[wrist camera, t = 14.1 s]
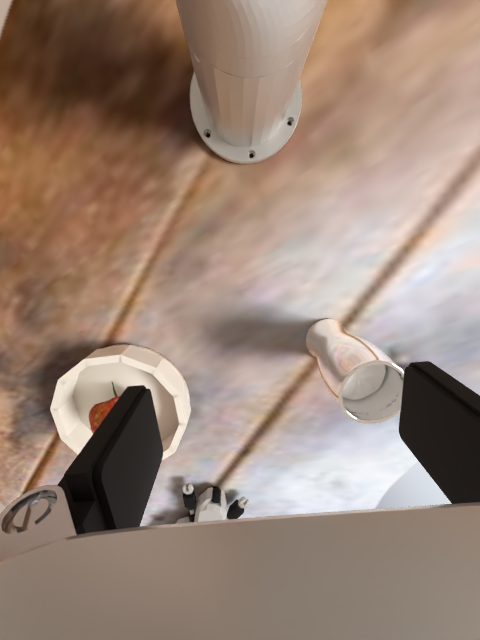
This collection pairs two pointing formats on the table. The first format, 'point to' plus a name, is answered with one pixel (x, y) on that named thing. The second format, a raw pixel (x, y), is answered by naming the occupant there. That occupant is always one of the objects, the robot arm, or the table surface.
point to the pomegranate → (101, 411)
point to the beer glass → (356, 372)
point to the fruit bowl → (123, 370)
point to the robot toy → (210, 505)
